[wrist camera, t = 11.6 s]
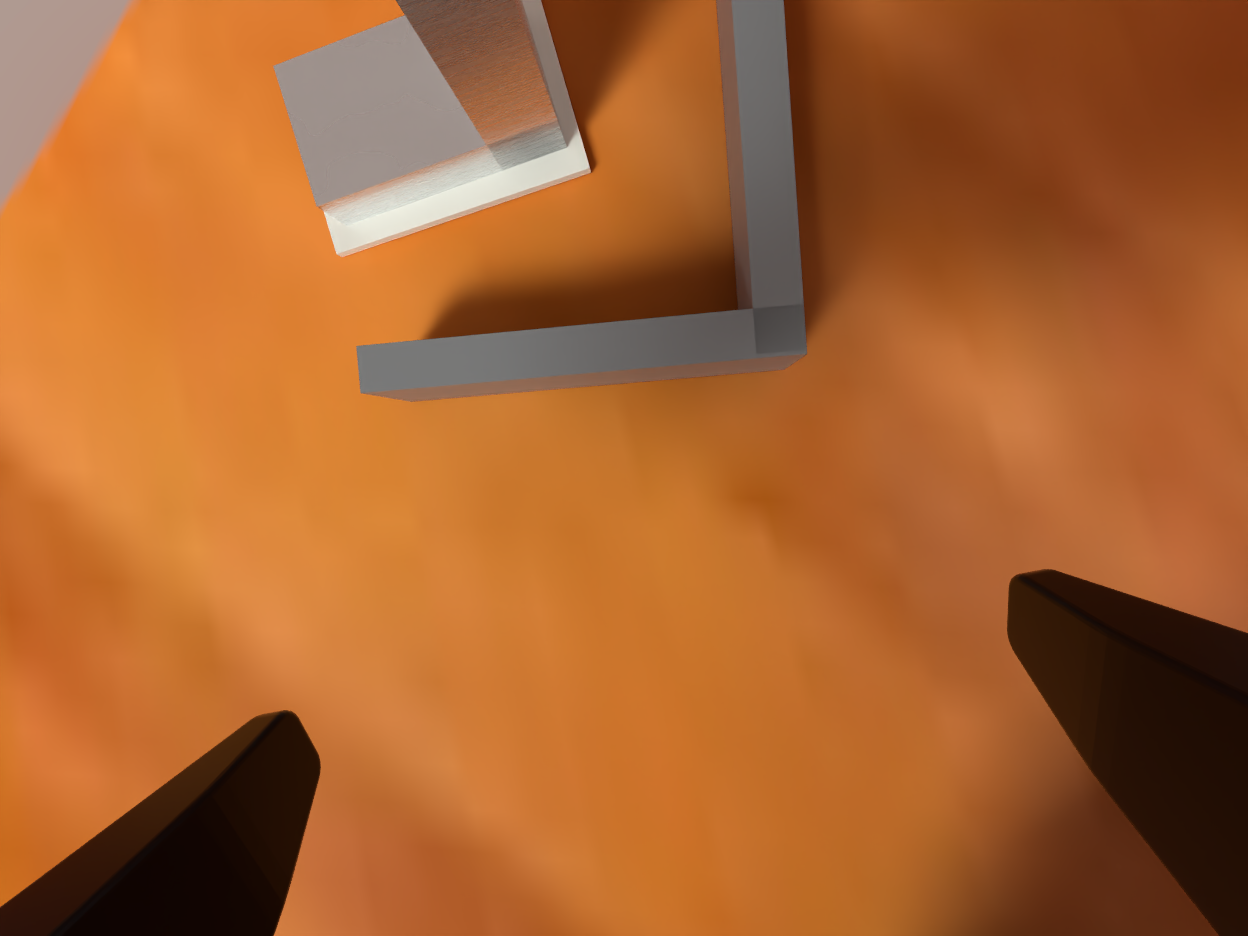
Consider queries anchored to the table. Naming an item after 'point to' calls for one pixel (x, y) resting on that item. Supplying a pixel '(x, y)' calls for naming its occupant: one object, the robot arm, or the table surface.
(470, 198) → the plate
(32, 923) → the robot arm
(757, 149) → the corner wall
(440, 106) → the bracket
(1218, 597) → the table surface
